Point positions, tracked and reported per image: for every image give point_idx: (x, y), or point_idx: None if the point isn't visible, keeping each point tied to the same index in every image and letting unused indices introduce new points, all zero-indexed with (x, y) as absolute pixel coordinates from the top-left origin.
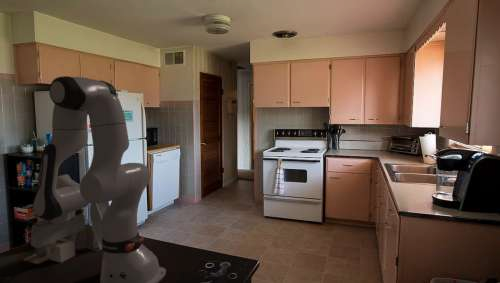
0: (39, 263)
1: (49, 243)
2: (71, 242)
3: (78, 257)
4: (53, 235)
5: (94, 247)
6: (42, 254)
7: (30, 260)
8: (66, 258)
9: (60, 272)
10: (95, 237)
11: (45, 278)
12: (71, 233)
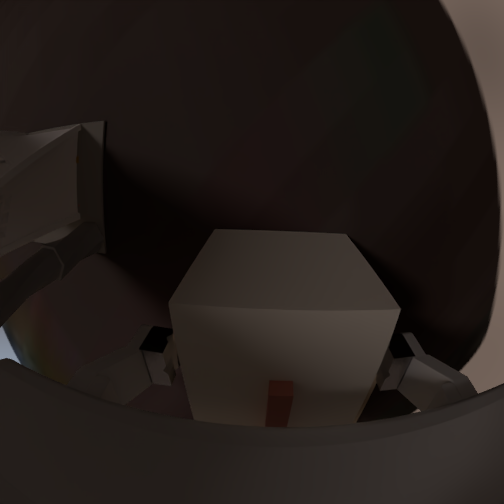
0: None
1: (476, 397)
2: (217, 300)
3: (229, 170)
4: (467, 481)
5: (76, 198)
6: None
7: (365, 398)
8: (297, 236)
9: (443, 118)
10: (11, 175)
11: (496, 160)
12: (135, 419)
